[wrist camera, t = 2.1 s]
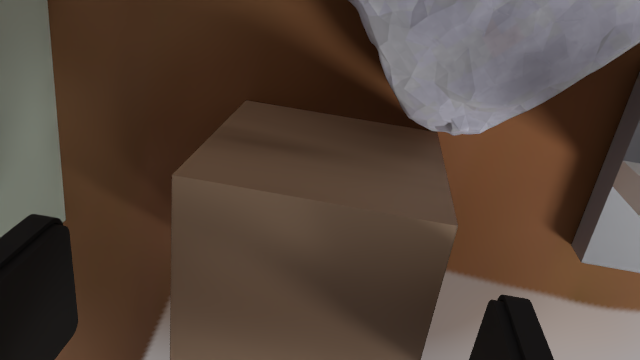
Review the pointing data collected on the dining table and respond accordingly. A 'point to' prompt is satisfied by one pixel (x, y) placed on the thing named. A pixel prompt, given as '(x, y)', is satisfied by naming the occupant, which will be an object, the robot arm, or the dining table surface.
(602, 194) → the picture card
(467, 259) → the dining table surface
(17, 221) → the sage block
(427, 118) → the stone block
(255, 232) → the walnut block
